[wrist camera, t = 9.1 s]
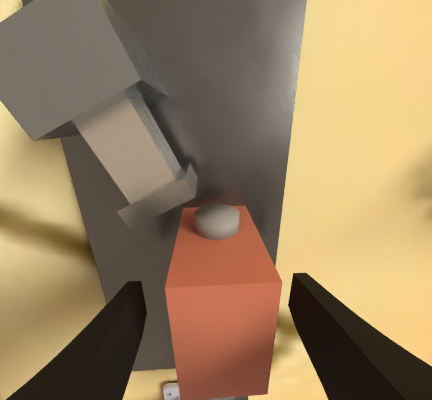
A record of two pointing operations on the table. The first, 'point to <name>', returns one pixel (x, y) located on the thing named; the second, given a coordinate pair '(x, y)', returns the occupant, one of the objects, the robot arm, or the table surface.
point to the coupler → (221, 304)
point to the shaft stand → (158, 122)
